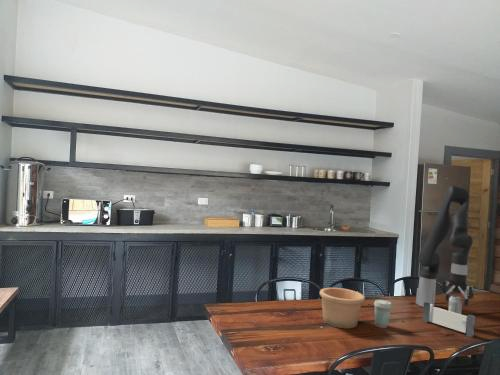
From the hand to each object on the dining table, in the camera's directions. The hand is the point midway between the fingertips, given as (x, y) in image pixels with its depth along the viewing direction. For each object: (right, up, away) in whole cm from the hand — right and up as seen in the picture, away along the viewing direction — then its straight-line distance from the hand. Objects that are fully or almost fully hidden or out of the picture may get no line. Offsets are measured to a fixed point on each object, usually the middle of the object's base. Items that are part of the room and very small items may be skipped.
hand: (456, 303), depth 198 cm
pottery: (-63, -7, -8) cm, 64 cm away
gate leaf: (-8, -10, -6) cm, 14 cm away
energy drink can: (-2, -12, 0) cm, 12 cm away
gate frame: (-8, -11, -6) cm, 15 cm away
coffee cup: (-42, -9, -9) cm, 44 cm away
